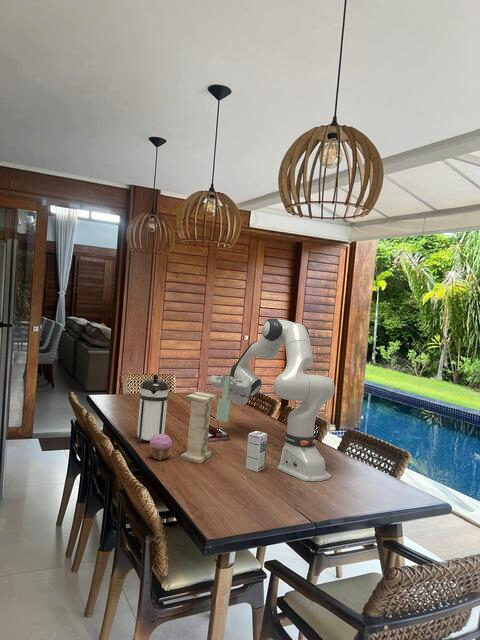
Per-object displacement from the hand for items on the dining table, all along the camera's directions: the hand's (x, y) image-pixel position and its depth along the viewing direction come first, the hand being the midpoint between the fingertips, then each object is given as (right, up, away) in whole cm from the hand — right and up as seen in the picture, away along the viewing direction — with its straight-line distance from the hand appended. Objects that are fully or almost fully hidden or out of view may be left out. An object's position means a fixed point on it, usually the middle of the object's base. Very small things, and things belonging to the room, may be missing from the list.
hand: (226, 377), depth 228 cm
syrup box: (+12, -33, -33) cm, 48 cm away
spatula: (0, -10, +2) cm, 10 cm away
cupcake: (-26, -29, -32) cm, 51 cm away
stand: (-12, -30, -26) cm, 41 cm away
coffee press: (-35, -28, -8) cm, 45 cm away
